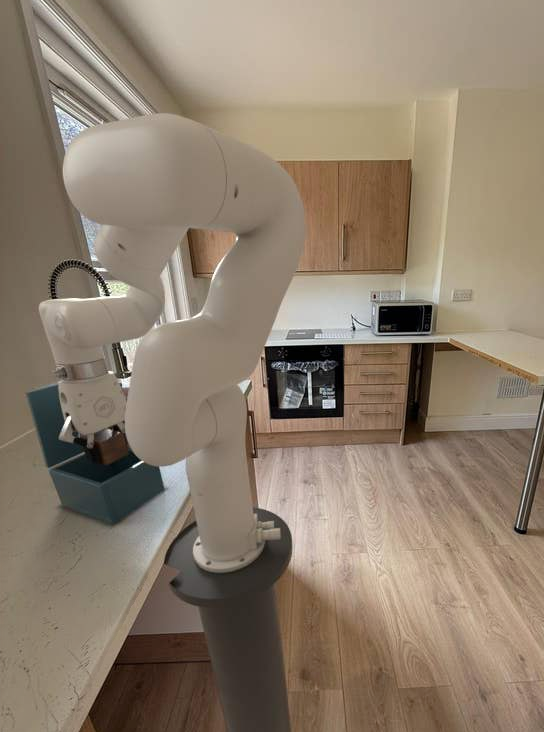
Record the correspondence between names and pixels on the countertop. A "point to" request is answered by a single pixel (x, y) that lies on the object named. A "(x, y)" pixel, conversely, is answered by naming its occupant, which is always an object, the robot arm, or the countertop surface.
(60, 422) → the bin lid
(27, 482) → the countertop surface
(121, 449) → the block
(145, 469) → the bin
